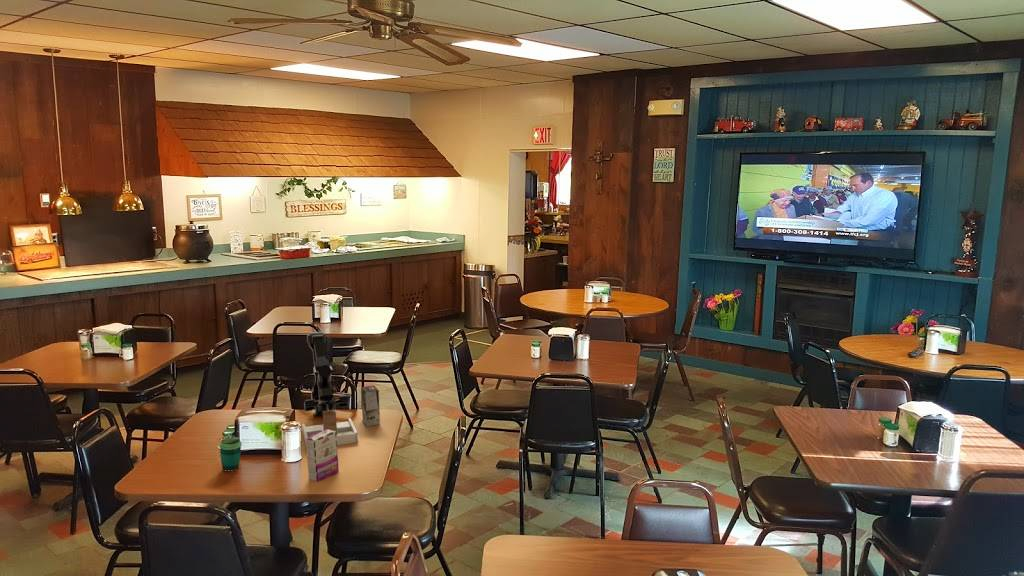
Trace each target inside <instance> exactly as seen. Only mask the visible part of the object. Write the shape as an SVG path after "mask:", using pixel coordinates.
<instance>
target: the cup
mask: <svg viewBox="0 0 1024 576" xmlns="http://www.w3.org/2000/svg"><path fill="white" fill-rule="evenodd" d="M242 444H243V442H242V441H241V440H240V438H239V437H237V436H231V437H225V438H223V439H222V440H221V441H220V442H219V444H218V447H219V452H220V453H219V454H220V461H221V467H222V471H223V470H227V471H228V470H230V471H231V470H235V469H237V470H239V465H240V461H241V453H242V446H243V445H242ZM235 471H236V470H235Z"/></svg>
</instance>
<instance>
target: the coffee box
mask: <svg viewBox="0 0 1024 576" xmlns="http://www.w3.org/2000/svg"><path fill="white" fill-rule="evenodd" d="M360 393H361V397H360V398H361V414H362V422H363V423H364V424H365V426H366V427H370V426H376V425H380V424H381V416H380V395H379V394H380V390H379V389H378V388H377V387H376V386H375V385H367V386H361V387H360Z"/></svg>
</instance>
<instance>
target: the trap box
mask: <svg viewBox="0 0 1024 576" xmlns="http://www.w3.org/2000/svg"><path fill="white" fill-rule="evenodd" d="M336 424H337V435H336V440H337V446H339V445H340V446H341V445H346V444H347V445H348V444H349V445H350V444H355V443H358V442H359V438H358V431H357V429H356V427H355V424H354V422H353V420H352V419H351V417H348V418H347V421H341V422H336ZM301 426H302V427H301V429H302V436H303V439H304V444H305V445H306V438H308V437H310V436H313V435H315V434H317V433H320V432H322V431H324V428H323V424H317V425H310V426H306V425H305V423H302V424H301Z"/></svg>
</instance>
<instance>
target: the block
mask: <svg viewBox="0 0 1024 576" xmlns="http://www.w3.org/2000/svg"><path fill="white" fill-rule="evenodd" d="M322 423H323V424H322V425H323V428H324V430H327V429H330V430H333V431H336V435H337V424H336V423H337V412H336V409H335V410H329V409H328V410H327V411H323V416H322Z"/></svg>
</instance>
